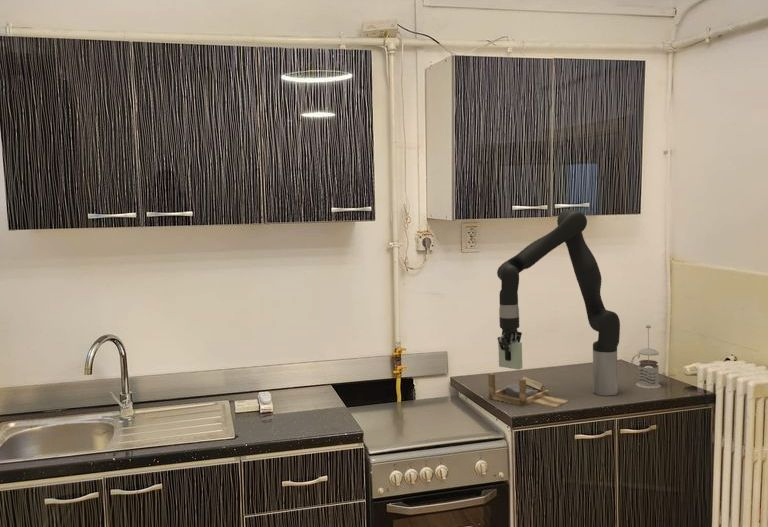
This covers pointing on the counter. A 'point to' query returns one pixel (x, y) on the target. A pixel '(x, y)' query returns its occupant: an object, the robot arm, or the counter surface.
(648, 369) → the french press
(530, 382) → the birch offcut
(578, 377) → the counter surface
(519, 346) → the sage board
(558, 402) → the slatted wooden panel
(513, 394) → the stone block
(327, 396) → the counter surface
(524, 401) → the oak rack
